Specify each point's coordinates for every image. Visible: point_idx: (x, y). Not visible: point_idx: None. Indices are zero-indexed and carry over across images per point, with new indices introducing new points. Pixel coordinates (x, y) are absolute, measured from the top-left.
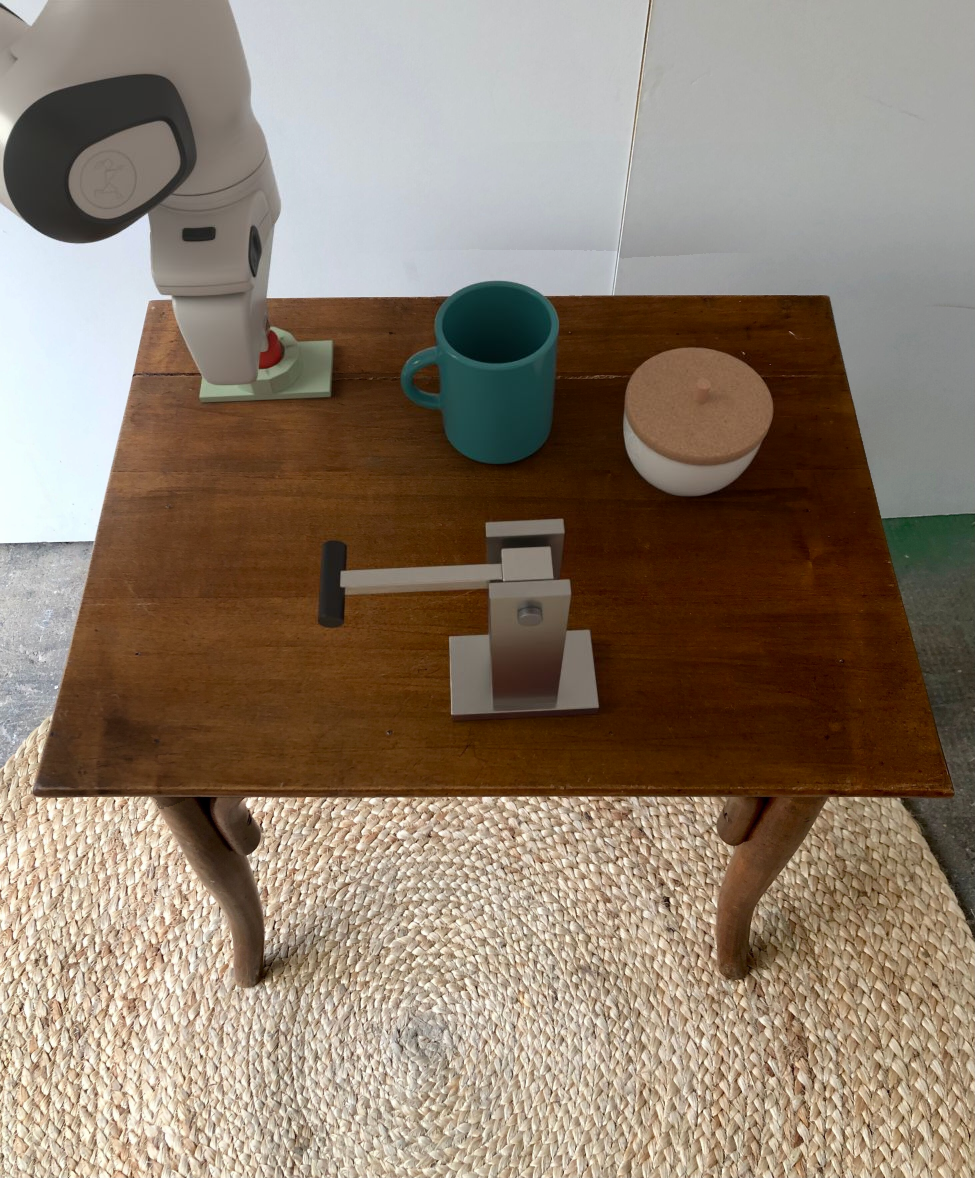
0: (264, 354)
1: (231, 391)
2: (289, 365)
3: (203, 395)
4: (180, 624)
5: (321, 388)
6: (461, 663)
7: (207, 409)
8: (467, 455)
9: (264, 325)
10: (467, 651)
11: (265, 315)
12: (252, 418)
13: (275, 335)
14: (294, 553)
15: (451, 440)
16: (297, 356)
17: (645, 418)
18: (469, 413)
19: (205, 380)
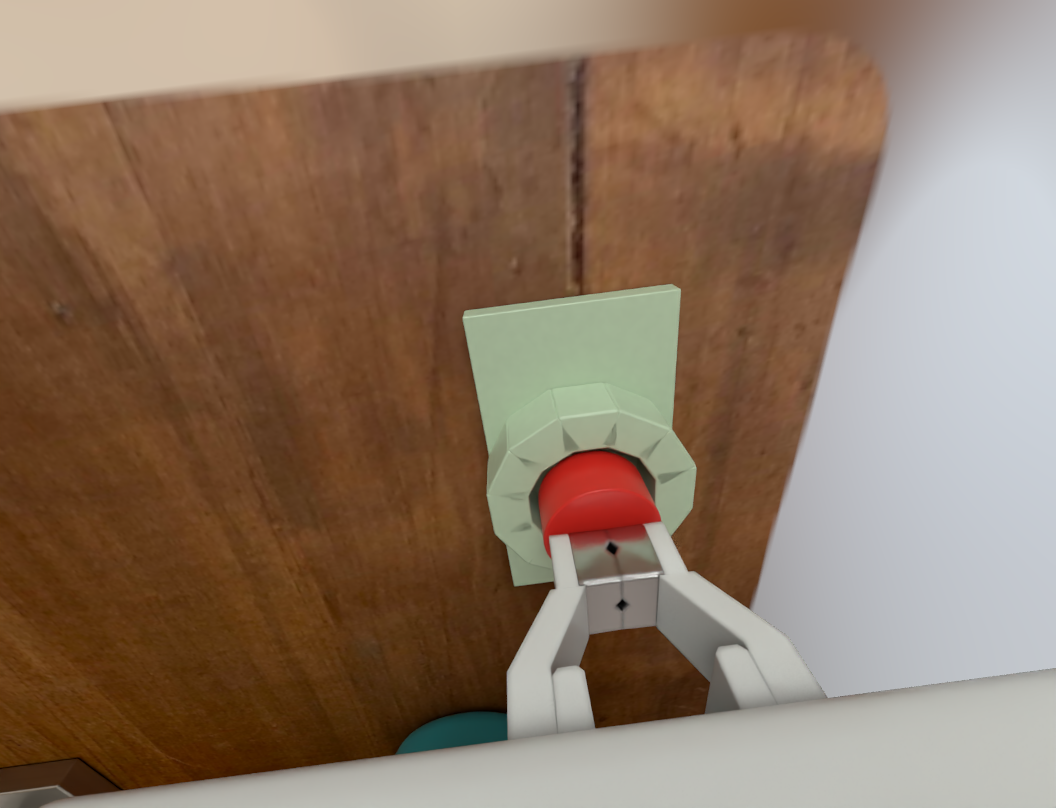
0: (550, 555)
1: (493, 402)
2: (546, 565)
3: (469, 330)
4: None
5: (521, 572)
6: (22, 800)
7: (442, 332)
8: (398, 750)
9: (609, 629)
10: (47, 800)
11: (657, 622)
12: (431, 447)
13: None
14: (104, 586)
15: (415, 745)
16: None
17: None
18: None
19: (531, 320)
